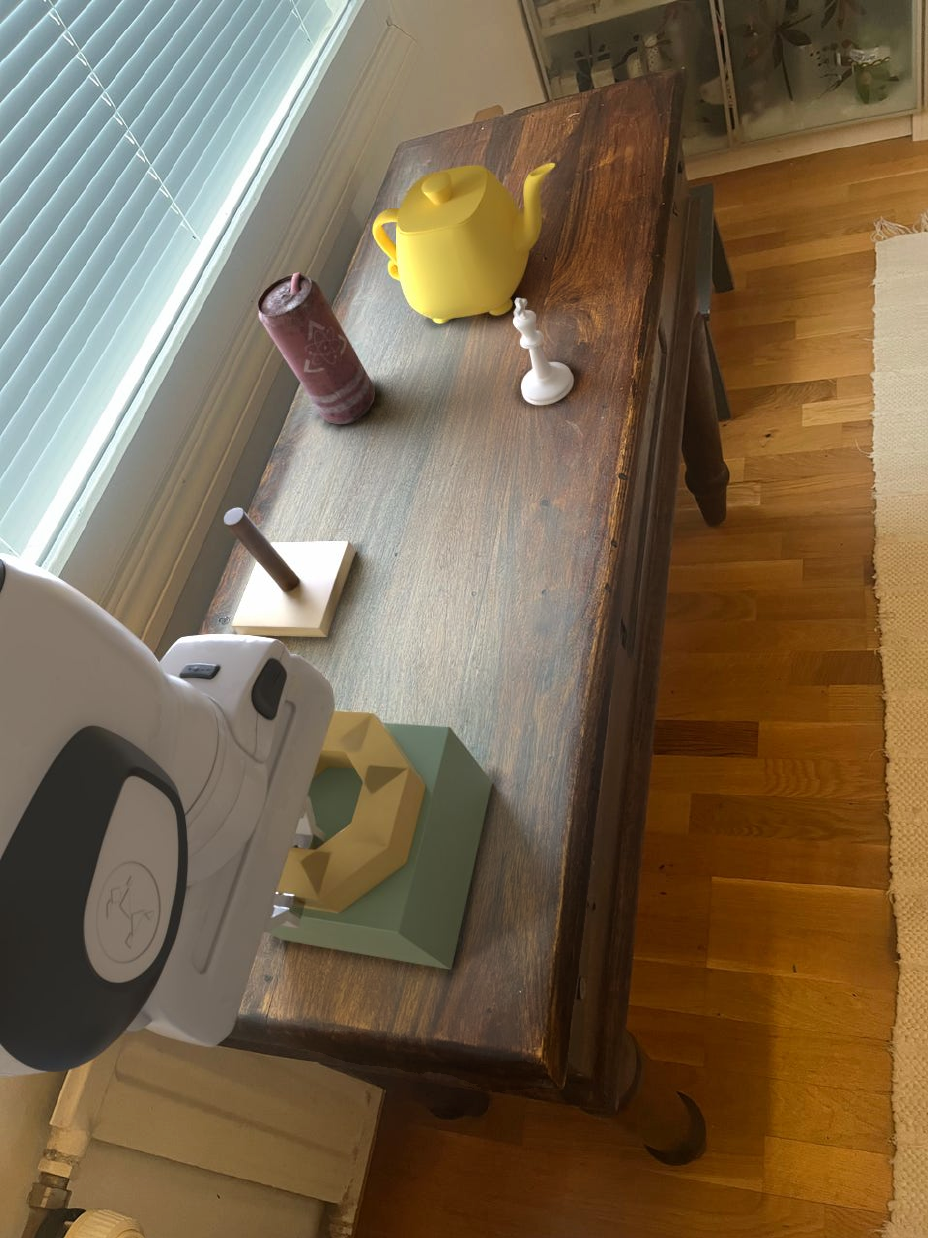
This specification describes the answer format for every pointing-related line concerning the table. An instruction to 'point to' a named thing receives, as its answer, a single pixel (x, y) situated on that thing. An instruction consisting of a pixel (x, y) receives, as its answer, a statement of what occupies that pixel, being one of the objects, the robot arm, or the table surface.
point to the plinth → (436, 866)
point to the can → (316, 348)
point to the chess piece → (539, 363)
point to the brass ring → (359, 817)
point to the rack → (289, 583)
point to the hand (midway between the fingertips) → (302, 878)
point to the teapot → (462, 241)
